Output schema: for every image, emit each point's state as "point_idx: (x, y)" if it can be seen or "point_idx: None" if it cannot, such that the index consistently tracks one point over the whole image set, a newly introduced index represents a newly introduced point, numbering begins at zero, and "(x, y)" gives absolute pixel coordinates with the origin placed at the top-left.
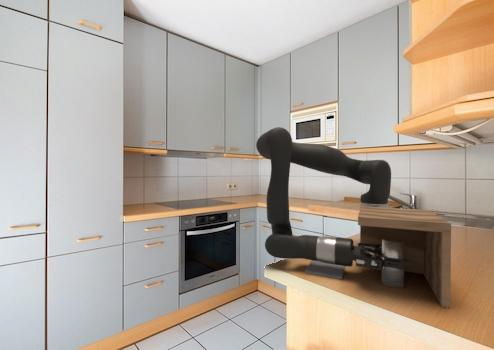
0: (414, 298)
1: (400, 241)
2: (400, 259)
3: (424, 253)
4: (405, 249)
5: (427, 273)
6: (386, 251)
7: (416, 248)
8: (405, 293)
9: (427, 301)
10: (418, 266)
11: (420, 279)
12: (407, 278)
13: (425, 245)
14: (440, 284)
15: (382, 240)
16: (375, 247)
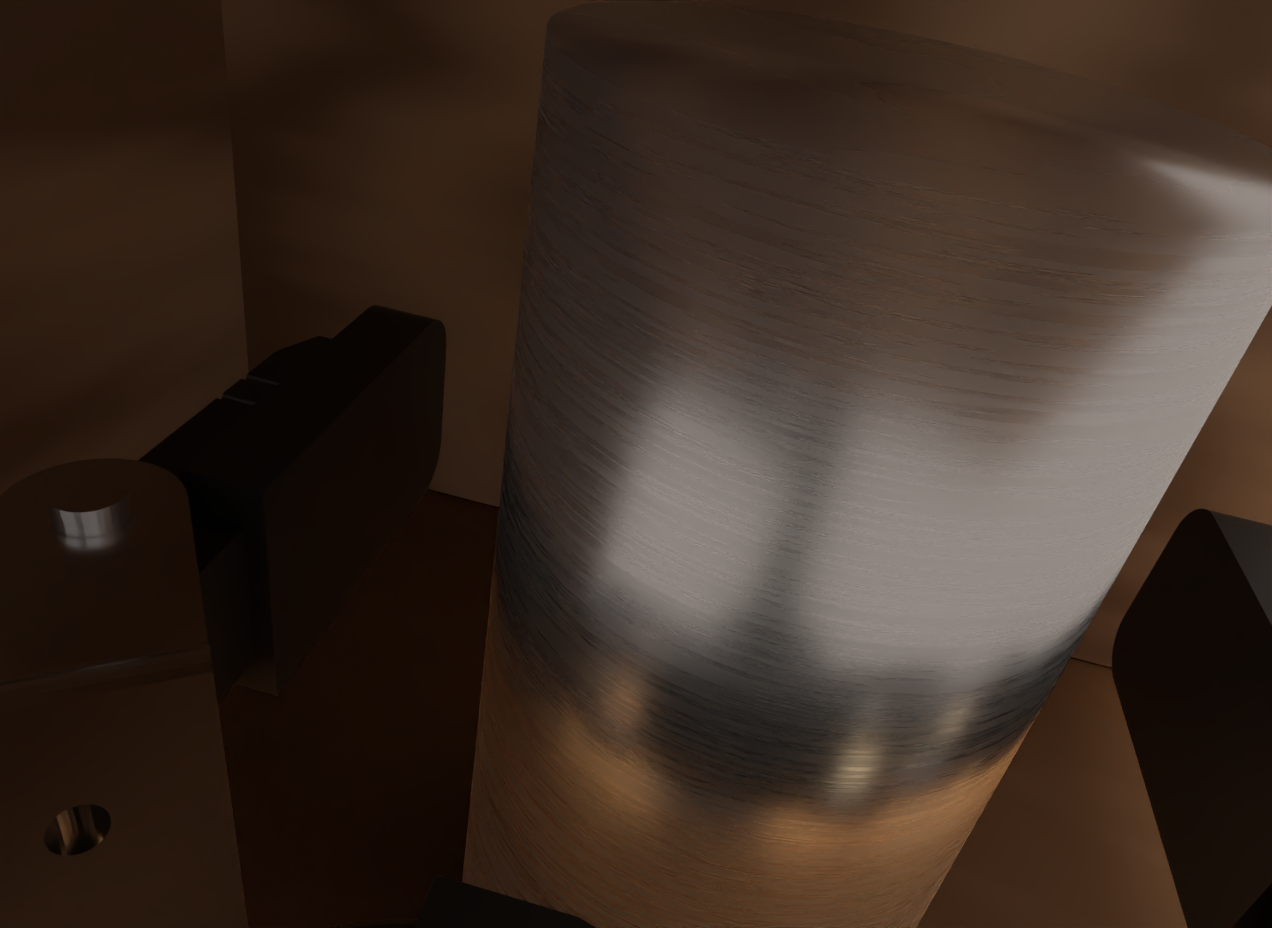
0: (1136, 864)
1: (910, 44)
2: (1242, 525)
3: (262, 173)
4: (51, 221)
5: (473, 424)
6: (1115, 576)
7: (162, 132)
8: (1027, 919)
9: (1125, 753)
10: (211, 394)
11: (435, 542)
12: (408, 659)
13: (326, 34)
14: (1234, 492)
15: (1098, 220)
16: (215, 703)
